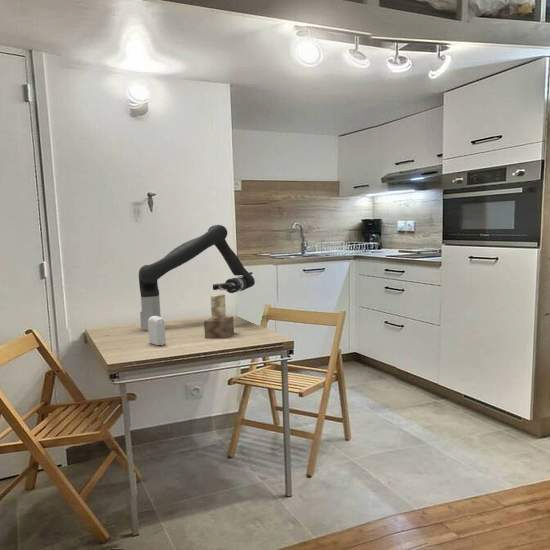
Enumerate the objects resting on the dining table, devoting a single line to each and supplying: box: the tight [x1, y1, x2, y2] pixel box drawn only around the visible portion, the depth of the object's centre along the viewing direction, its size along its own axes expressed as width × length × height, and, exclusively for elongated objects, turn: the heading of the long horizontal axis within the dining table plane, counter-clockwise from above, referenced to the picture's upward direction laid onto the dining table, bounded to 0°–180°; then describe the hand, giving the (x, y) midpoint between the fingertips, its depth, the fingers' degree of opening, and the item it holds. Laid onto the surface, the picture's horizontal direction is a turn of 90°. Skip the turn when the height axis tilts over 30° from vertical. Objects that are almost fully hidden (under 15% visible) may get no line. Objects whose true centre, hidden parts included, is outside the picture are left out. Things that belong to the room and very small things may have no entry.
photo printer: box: [148, 316, 167, 346], centre depth 204 cm, size 10×4×12 cm, turn 39°
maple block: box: [210, 294, 227, 320], centre depth 217 cm, size 5×5×11 cm
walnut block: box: [203, 316, 235, 339], centre depth 217 cm, size 10×12×8 cm
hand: (221, 288), depth 229 cm, fingers open, 8 cm apart
